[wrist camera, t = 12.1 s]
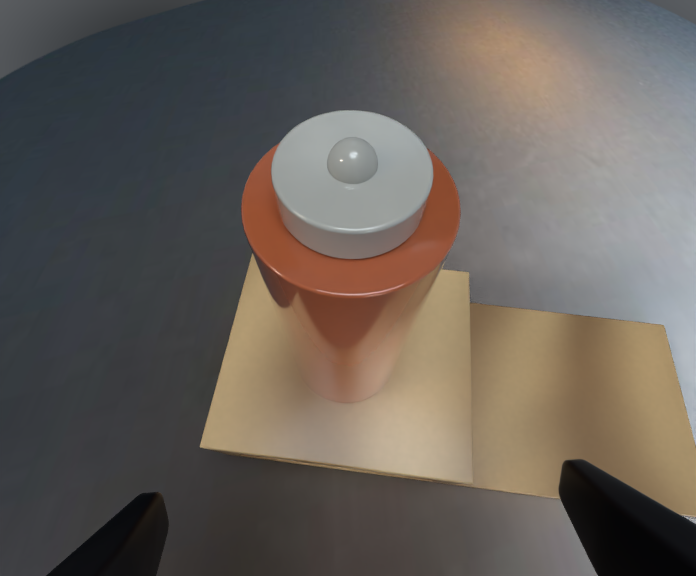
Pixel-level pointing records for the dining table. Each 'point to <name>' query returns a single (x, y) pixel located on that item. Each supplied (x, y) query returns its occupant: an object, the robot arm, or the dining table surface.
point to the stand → (469, 400)
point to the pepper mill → (349, 244)
